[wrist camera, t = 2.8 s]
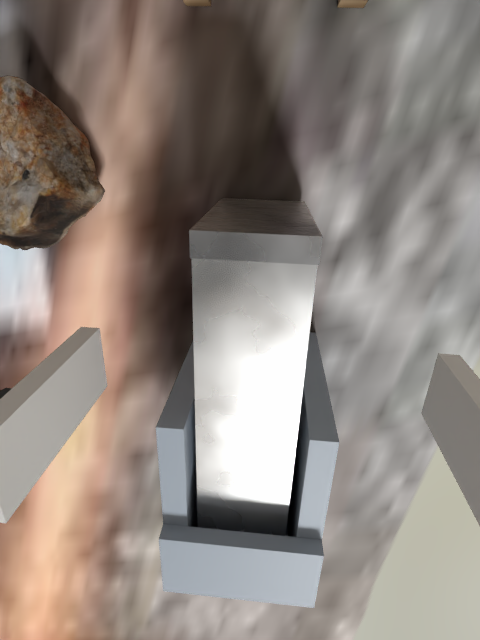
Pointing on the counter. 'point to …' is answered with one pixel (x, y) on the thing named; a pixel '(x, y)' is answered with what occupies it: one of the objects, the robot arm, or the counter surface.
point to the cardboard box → (343, 2)
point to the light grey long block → (250, 356)
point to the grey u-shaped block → (243, 547)
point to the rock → (41, 169)
